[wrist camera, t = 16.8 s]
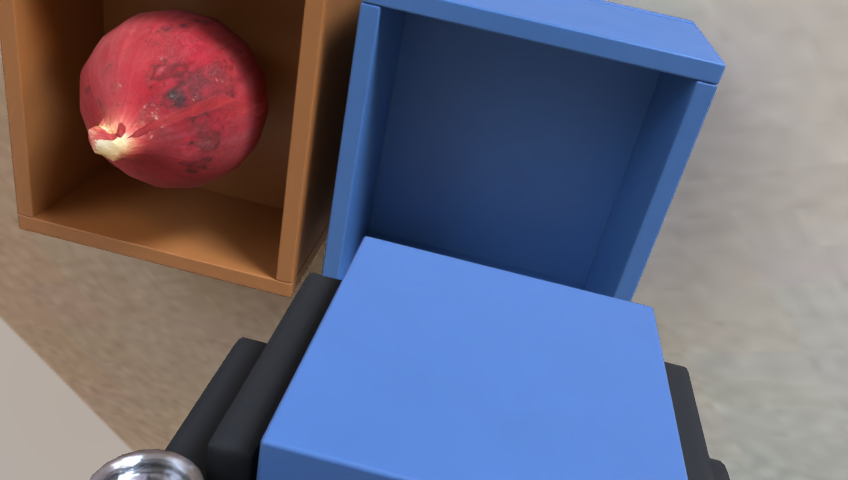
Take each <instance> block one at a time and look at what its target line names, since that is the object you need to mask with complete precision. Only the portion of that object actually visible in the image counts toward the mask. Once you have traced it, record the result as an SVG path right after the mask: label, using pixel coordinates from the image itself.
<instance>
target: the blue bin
mask: <svg viewBox="0 0 848 480" xmlns="http://www.w3.org/2000/svg"><path fill="white" fill-rule="evenodd" d="M362 1H363V2H361V4H360V11H359V18H358V25H357V32H356V39H355V46H354V53H353V60H352V67H351V74H350V81H349V88H348V95H347V103H346V110H345V117H344V124H343V131H342V138H341V145H340V152H339V159H338V166H337V173H336V180H335V187H334V194H333V201H332V208H331V215H330V222H329V229H328V236H327V243H326V250H325V257H324V264H323V271H322V275H323V276H327V277H331V278H335V279H339V280H342V279H343V277H344V275H345V273H346V271H347V269H348V267H349V265H350V263H351V261H352V259H353V257H354V255H355V254H356V252H357V250H358V248H359V246H360V244H361V242H362V240H363V238H364V237H365V236H368V237H372V238H376V239H380V240H384V241H388V242H392V243H396V244H400V245H404V246H408V247H413V248H417V249H421V250H425V251H429V252H433V253H437V254H441V255H445V256H449V257H453V258H457V259H461V260H465V261H469V262H473V263H477V264H481V265H485V266H489V267H493V268H497V269H501V270H505V271H509V272H513V273H517V274H521V275H525V276H529V277H533V278H537V279H541V280H545V281H549V282H553V283H557V284H561V285H565V286H569V287H573V288H577V289H581V290H585V291H589V292H593V293H597V294H601V295H605V296H609V297H613V298H617V299H621V300H625V301H629V302H631V300H632V297H633V295H634V292H635V290H636V287H637V285H638V282H639V280H640V278H641V275H642V273H643V270H644V268H645V265H646V263H647V260H648V258H649V255H650V253H651V250H652V248H653V245H654V243H655V240H656V238H657V235H658V233H659V230H660V228H661V225H662V223H663V220H664V218H665V215H666V213H667V211H668V208H669V206H670V203H671V201H672V198H673V196H674V193H675V191H676V188H677V186H678V183H679V181H680V178H681V176H682V173H683V171H684V168H685V166H686V163H687V161H688V158H689V156H690V153H691V151H692V148H693V146H694V144H695V141H696V139H697V136H698V134H699V131H700V129H701V126H702V124H703V121H704V119H705V116H706V114H707V111H708V109H709V106H710V104H711V101H712V99H713V96H714V94H715V91H716V89H717V85H716V84H718V83H719V81H720V79H721V76H722V74H723V71H724V69H725V63H724V62H723V61H722V59H721V58H720V57H719V55H718V54H717V53H716V51H715V50H714V49H713V47H712V46H711V44H710V43H709V42H708V40H707V39H706V38H705V36H704V35H703V34H702V32H701V31H700V30H699V28H698V27H697V26H696V24H695V23H694V22H693V21H690V20H686V19H681V18H677V17H672V16H668V15H664V14H659V13H655V12H651V11H646V10H642V9H638V8H633V7H629V6H625V5H620V4H616V3H612V2H607V1H603V0H362Z"/></svg>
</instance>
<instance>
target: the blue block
mask: <svg viewBox="0 0 848 480" xmlns="http://www.w3.org/2000/svg"><path fill="white" fill-rule="evenodd" d="M256 480H688V477H687V472H686V467H685V462H684V457H683V452H682V448H681V443H680V438H679V433H678V428H677V423H676V418H675V413H674V408H673V403H672V398H671V393H670V389H669V384H668V379H667V374H666V369H665V364H664V359H663V354H662V349H661V344H660V339H659V334H658V330H657V325H656V320H655V315H654V310H653V308H651V307H649V306H645V305H641V304H637V303H633V302H629V301H625V300H621V299H617V298H613V297H609V296H605V295H601V294H597V293H593V292H589V291H585V290H581V289H577V288H573V287H569V286H565V285H561V284H557V283H553V282H549V281H545V280H541V279H537V278H533V277H529V276H525V275H521V274H517V273H513V272H509V271H505V270H501V269H497V268H493V267H489V266H485V265H481V264H477V263H473V262H469V261H465V260H461V259H457V258H453V257H449V256H445V255H441V254H437V253H433V252H429V251H425V250H421V249H417V248H413V247H408V246H404V245H400V244H396V243H392V242H388V241H384V240H380V239H376V238H372V237H368V236H365V237H364V238H363V240H362V242H361V244H360V246H359V248H358V250H357V252H356V254H355V255H354V257H353V259H352V261H351V263H350V265H349V267H348V269H347V271H346V273H345V275H344V277H343V279H342V281H341V283H340V285H339V287H338V289H337V291H336V293H335V295H334V297H333V299H332V301H331V303H330V305H329V307H328V309H327V311H326V313H325V315H324V317H323V319H322V321H321V322H320V324H319V326H318V328H317V330H316V332H315V334H314V336H313V338H312V340H311V342H310V344H309V346H308V348H307V350H306V352H305V354H304V356H303V358H302V360H301V362H300V364H299V366H298V368H297V370H296V372H295V374H294V376H293V378H292V380H291V382H290V384H289V386H288V388H287V389H286V391H285V393H284V395H283V397H282V399H281V401H280V403H279V405H278V407H277V409H276V411H275V413H274V415H273V417H272V419H271V421H270V423H269V425H268V427H267V429H266V431H265V433H264V435H263V437H262V439H261V442H260V451H259V461H258V470H257V479H256Z"/></svg>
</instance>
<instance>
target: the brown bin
mask: <svg viewBox="0 0 848 480" xmlns="http://www.w3.org/2000/svg"><path fill="white" fill-rule="evenodd" d="M361 2H363V1H362V0H0V41H1V51H2V61H3V71H4V81H5V91H6V100H7V110H8V120H9V130H10V140H11V150H12V160H13V170H14V180H15V190H16V200H17V210H18V219H19V228H21V229H24V230H28V231H32V232H36V233H40V234H44V235H48V236H52V237H56V238H60V239H63V240H67V241H71V242H75V243H79V244H83V245H87V246H91V247H95V248H99V249H103V250H106V251H110V252H114V253H118V254H122V255H126V256H130V257H134V258H138V259H142V260H146V261H149V262H153V263H157V264H161V265H165V266H169V267H173V268H177V269H181V270H185V271H188V272H192V273H196V274H200V275H204V276H208V277H212V278H216V279H220V280H224V281H228V282H231V283H235V284H239V285H243V286H247V287H251V288H255V289H259V290H263V291H267V292H270V293H274V294H278V295H282V296H286V297H290V296H291V295H292V293H293V291H294V290H295V288H296V286H297V285H298V283H299V281H300V280H301V278H302V276H303V275H304V273H305V271H306V270H307V268H308V266H309V265H310V263H311V261H312V260H313V258H314V256H315V255H316V253H317V251H318V250H319V248H320V246H321V245H322V243H323V241H324V240H325V238H326V236H327V235H328V229H329V222H330V215H331V208H332V201H333V194H334V187H335V180H336V173H337V166H338V159H339V152H340V145H341V138H342V131H343V124H344V117H345V110H346V103H347V95H348V88H349V81H350V74H351V67H352V60H353V53H354V46H355V39H356V32H357V25H358V18H359V11H360V4H361ZM170 9H176V10H185V11H189V12H193V13H196V14H200V15H204V16H208V17H212V18H215V19H218V20H219V21H221V22H222V23H223V24H224V25H225V26H227V27H228V28H229V29H230V30H232V31H233V32H234V33H235V34H237V35H238V36H239V37H240V38H241V39H243V40H244V41H245V42H246V43H247V44H248V46H249V47H250V49H251V51H252V53H253V55H254V56H255V58H256V60H257V62H258V64H259V65H260V67H261V69H262V71H263V72H264V74H265V77H266V86H267V96H268V106H269V111H268V115H267V118H266V121H265V125H264V128H263V131H262V134H261V138H260V140H259V142H258V143H257V145H256V147H255V149H254V150H253V151H252V152H251V153H250V154H249V155H248V156H247V158H246V159H245V160H244V161H243V162H242V163H241V164H240V165H239V166H238V167H237V168H236V169H234V170H233V171H231V172H230V173H228V174H227V175H225V176H223V177H220V178H218V179H216V180H214V181H212V182H209V183H207V184H205V185H202V186H199V187H195V188H160V187H155V186H153V185H150V184H148V183H145V182H143V181H140V180H138V179H135V178H133V177H130V176H129V175H127V174H126V173H124V172H123V171H122V170H120V169H119V168H118V167H116V166H115V165H114V164H112V163H111V162H110V161H108V160H107V159H106V158H104V156H103V155H100V154H97V153H95V152H94V150H93V148H92V146H91V144H90V142H89V139H88V131H87V129H86V126H85V123H84V120H83V117H82V114H81V111H80V73H81V70H82V68H83V67H84V65H85V63H86V62H87V60H88V59H89V57H90V55H91V54H92V52H93V50H94V49H95V47H96V45H97V44H98V43H99V41H100V40H101V39H102V37H103V36H105V35H106V34H107V33H109V32H110V31H112V30H113V29H115V28H116V27H117V26H119V25H120V24H122V23H123V22H125V21H126V20H127V19H129V18H131V17H133V16H135V15H137V14H139V13H145V12H153V11H162V10H170Z"/></svg>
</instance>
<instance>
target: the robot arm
mask: <svg viewBox="0 0 848 480" xmlns="http://www.w3.org/2000/svg"><path fill="white" fill-rule="evenodd" d="M341 281H342V280H339V279H335V278H331V277H327V276H323V275H319V274H315V273H309V275H308V276H307V278H306V279H305V281H304V283H303V284H302V286H301V288H300V290H299V291H298V293H297V295H296V296H295V298H294V300H293V301H292V303H291V305H290V306H289V308H288V310H287V311H286V313H285V315H284V316H283V318H282V320H281V322H280V323H279V325H278V327H277V328H276V330H275V332H274V333H273V335H272V337H271V338H270V340H269V342H268V343H263V342H260V341H256V340H252V339H248V338H244V337H242V338H240V339H239V340H238V341H237V342H236V344H235V345H234V346H233V348H232V349H231V351H230V352H229V354H228V355H227V357H226V358H225V360H224V361H223V363H222V365H221V366H220V368H219V369H218V371H217V372H216V374H215V375H214V377H213V378H212V380H211V381H210V383H209V384H208V386H207V387H206V389H205V390H204V392H203V393H202V395H201V396H200V398H199V399H198V401H197V402H196V404H195V406H194V407H193V409H192V410H191V412H190V413H189V415H188V416H187V418H186V419H185V421H184V422H183V424H182V425H181V427H180V428H179V430H178V431H177V433H176V434H175V436H174V437H173V439H172V440H171V442H170V443H169V445H168V447H167V448H166V450H160V449H152V450H139V451H135V452H131V453H128V454H124V455H121V456H119V457H117V458H115V459H113V460H111V461H109V462H107V463H106V464H105V465H103V466H102V467H101V468H100V469H99V470H98V471H97V472H95V473H94V474H93V475H92V477H91V478H90V480H256V479H257V470H258V461H259V451H260V442H261V439H262V437H263V435H264V433H265V431H266V429H267V427H268V425H269V423H270V421H271V419H272V417H273V415H274V413H275V411H276V409H277V407H278V405H279V403H280V401H281V399H282V397H283V395H284V393H285V391H286V389H287V388H288V386H289V384H290V382H291V380H292V378H293V376H294V374H295V372H296V370H297V368H298V366H299V364H300V362H301V360H302V358H303V356H304V354H305V352H306V350H307V348H308V346H309V344H310V342H311V340H312V338H313V336H314V334H315V332H316V330H317V328H318V326H319V324H320V322H321V321H322V319H323V317H324V315H325V313H326V311H327V309H328V307H329V305H330V303H331V301H332V299H333V297H334V295H335V293H336V291H337V289H338V287H339V285H340V283H341ZM664 364H665V369H666V374H667V379H668V384H669V389H670V393H671V398H672V403H673V408H674V413H675V418H676V423H677V428H678V433H679V438H680V443H681V448H682V452H683V457H684V462H685V467H686V472H687V477H688V480H730V479H729V475H728V472H727V470H726V467H725V465H724V464H723V463H722V462H721V461H718V460H715V459H711V458H709V455H708V451H707V447H706V443H705V438H704V434H703V430H702V426H701V422H700V418H699V414H698V410H697V406H696V402H695V398H694V393H693V389H692V385H691V381H690V377H689V373H688V371H687V368H685V367H682V366H679V365H675V364H671V363H667V362H664Z"/></svg>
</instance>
